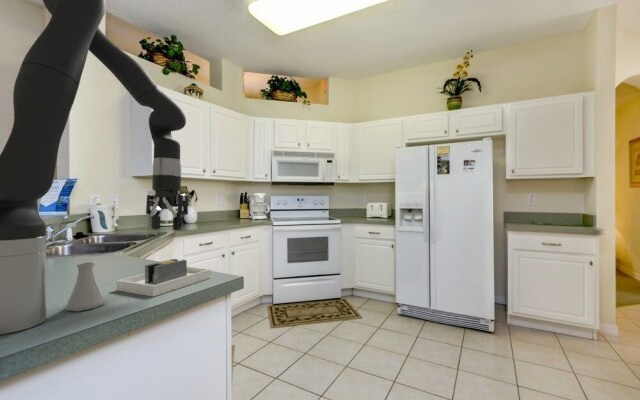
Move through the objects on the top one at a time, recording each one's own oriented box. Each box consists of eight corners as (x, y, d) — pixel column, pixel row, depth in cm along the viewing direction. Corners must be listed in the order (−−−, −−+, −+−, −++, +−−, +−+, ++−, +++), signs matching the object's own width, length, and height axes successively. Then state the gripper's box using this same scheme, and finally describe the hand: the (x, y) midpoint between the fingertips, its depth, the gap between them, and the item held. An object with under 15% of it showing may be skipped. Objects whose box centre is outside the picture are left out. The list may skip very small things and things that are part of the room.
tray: (153, 296, 76) (153, 282, 76) (116, 290, 82) (116, 276, 82) (210, 277, 95) (210, 266, 95) (177, 273, 100) (177, 262, 100)
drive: (157, 284, 83) (157, 266, 83) (145, 282, 85) (145, 264, 85) (186, 276, 92) (186, 259, 92) (174, 274, 94) (174, 258, 94)
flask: (58, 309, 68) (58, 265, 68) (94, 299, 74) (94, 259, 74) (75, 314, 64) (75, 268, 65) (111, 304, 71) (111, 262, 71)
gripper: (138, 174, 88) (137, 229, 88) (173, 172, 82) (173, 231, 82) (161, 176, 95) (160, 228, 94) (195, 175, 89) (194, 229, 89)
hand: (166, 229), depth 88 cm, fingers open, 8 cm apart
